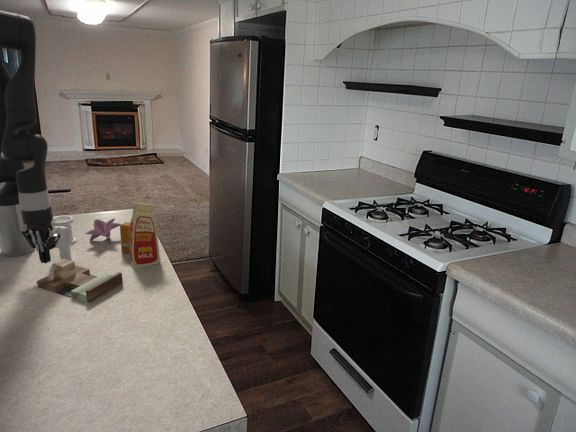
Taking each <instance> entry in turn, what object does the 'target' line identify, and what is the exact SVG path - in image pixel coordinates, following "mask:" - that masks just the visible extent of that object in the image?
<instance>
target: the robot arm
mask: <svg viewBox="0 0 576 432" xmlns="http://www.w3.org/2000/svg"><path fill="white" fill-rule="evenodd" d="M35 29H36V28H35V24H34V22H33V20H32V19H31V18H30V17H29V16H27V15H22V14H20V13H19V14H18V13H16V12H15V13H14V12H9V11H5V10H0V184H3V183H4V185H3V186H2V188H1V189H0V252H1V253H2V254H3V256H6V257H20V256H24V255H28V254H30V253H33V252H34V251H35V250H36V252H38V258H39V261H40V263H42V264H47V263H50V262H51V260H52V258H51V252H50V251H51V250H52V249H55V246H56V244H57V242H58V240H59V238H60V234H55V233H54V232H53V227H52V225H51V221H52V220H53V217H54V215H53V207H52V203H51V202H52V201H51V197H50V194H49V190H48V186H47V180H46V161H47V155H48V149H49V148H48V147H49V146H48V142H47V140H46V138H45V137H44V136H43V135H41V134H36V133H35V134H34V133H32V134H31V133H30V134H19V133H20V131H21V130H22V129H25V128H31V127H34V126H35V125H37V123H38V117H37V116H38V115H37V105H36V96H35V81H36V80H35V79H36V77H35V76H36V73H35V72H36V46H37V45H36V44H37V41H36V39H37V38H36V35H37V34H36V30H35ZM2 48H3V49H10V50H15V51H20V52H21V59H20V63H19V66H18V67H17V70H16V71H15V72H14V74H13V76H11V74H10V73H9V71H8V68H7V67H6V65H5V63H4V60H3V58H2V53H1V49H2ZM24 161H25V162H26V161H27V162H28V161H33V163H34V164H33V166H30V167H27V168H25V165H24Z"/></svg>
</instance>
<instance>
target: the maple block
mask: <svg viewBox="0 0 576 432" xmlns="http://www.w3.org/2000/svg"><path fill="white" fill-rule="evenodd" d="M51 265H52V271H53V272H52V274H53V273H54V277H57V278H60V279H64V280H65V279H67V278H69V277H71V276H73V275H75V274H76V270H75V266H76V264H75V261H74V260H72V259H71V260H67V259H62V260H61V259H60V260H58V261H56V262H53V263H52V264H51Z"/></svg>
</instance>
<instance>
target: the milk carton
mask: <svg viewBox="0 0 576 432" xmlns="http://www.w3.org/2000/svg"><path fill="white" fill-rule="evenodd" d="M132 205H133V207H132V215H131V219H130V222H129V223H130V234H129V246H130V253H129V254H130V258H131V262H132V265H133V269H137V268H142V267H148V266H154V265H158V264H161V256H160V246H159V237H158V230H157V224H156V222H155V221H156V220H155V215H154V214H155V207H156V205H157V204H156V203H139V202H132Z"/></svg>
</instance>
